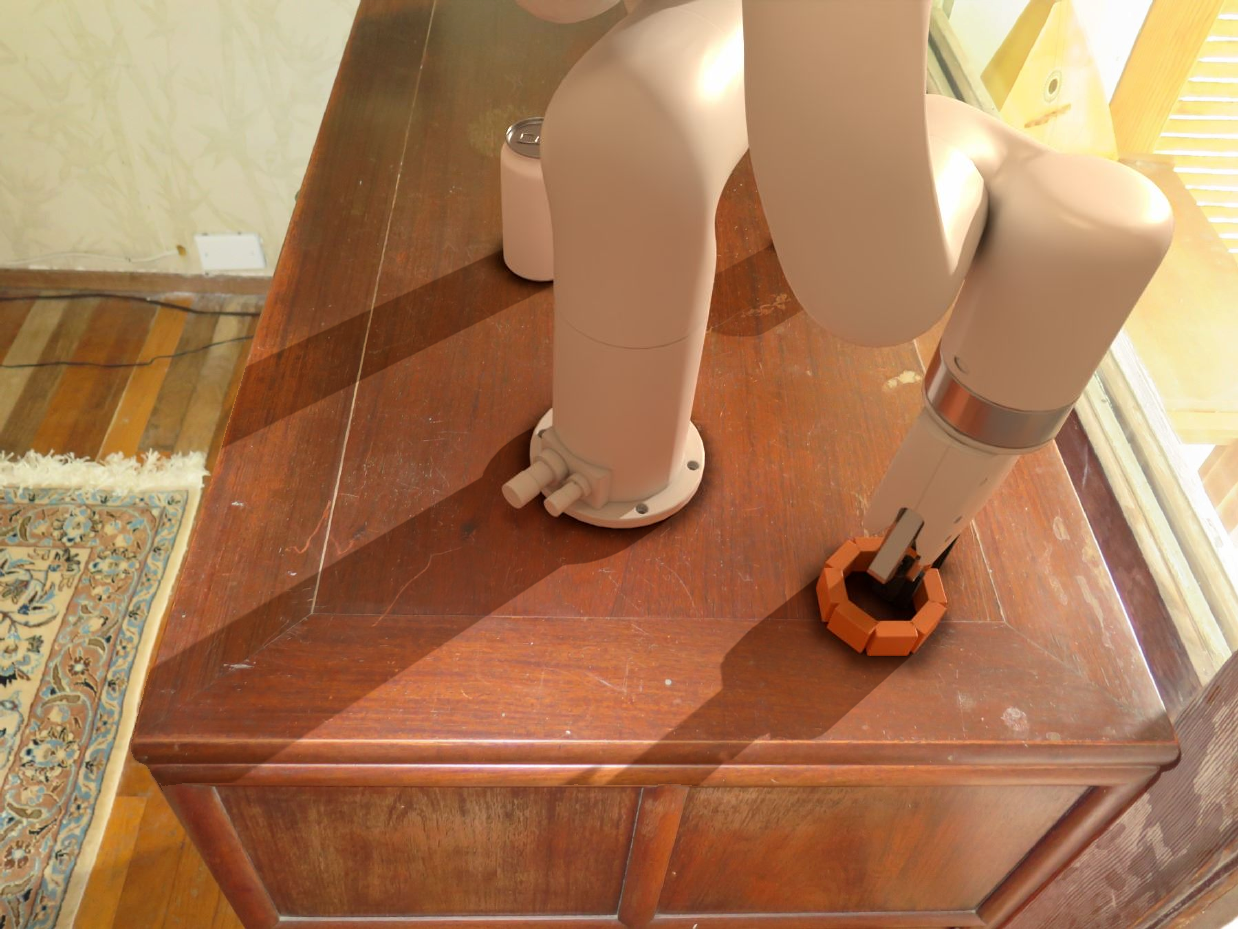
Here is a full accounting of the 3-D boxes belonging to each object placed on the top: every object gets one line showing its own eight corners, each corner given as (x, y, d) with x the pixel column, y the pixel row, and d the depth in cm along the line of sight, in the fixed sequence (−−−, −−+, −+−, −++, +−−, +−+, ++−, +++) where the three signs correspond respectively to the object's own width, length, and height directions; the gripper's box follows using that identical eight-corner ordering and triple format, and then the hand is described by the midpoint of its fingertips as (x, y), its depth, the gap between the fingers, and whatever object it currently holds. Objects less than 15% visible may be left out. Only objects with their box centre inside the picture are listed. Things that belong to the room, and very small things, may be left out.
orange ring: (892, 678, 62) (903, 660, 60) (795, 604, 65) (802, 585, 63) (954, 605, 66) (966, 585, 64) (859, 538, 69) (868, 517, 67)
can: (568, 290, 84) (572, 166, 74) (494, 276, 84) (489, 152, 75) (585, 243, 88) (591, 121, 78) (514, 231, 88) (512, 108, 79)
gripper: (1010, 281, 58) (918, 477, 72) (854, 427, 50) (785, 617, 64) (1130, 345, 55) (1010, 536, 69) (986, 512, 47) (882, 691, 61)
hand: (903, 573), depth 66 cm, fingers open, 3 cm apart
